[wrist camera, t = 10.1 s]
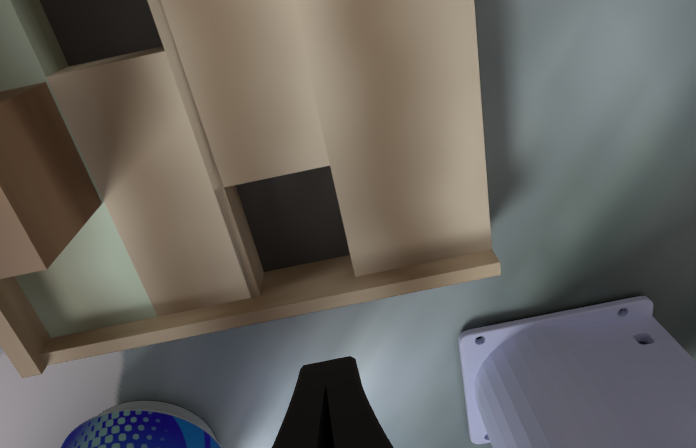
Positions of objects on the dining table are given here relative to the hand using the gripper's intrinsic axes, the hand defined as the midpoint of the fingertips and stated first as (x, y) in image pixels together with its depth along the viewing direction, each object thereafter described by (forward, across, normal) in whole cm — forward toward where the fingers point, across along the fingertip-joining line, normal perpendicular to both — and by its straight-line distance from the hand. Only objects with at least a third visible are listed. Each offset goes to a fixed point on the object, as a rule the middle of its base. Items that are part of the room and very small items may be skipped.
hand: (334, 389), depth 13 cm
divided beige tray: (+10, +3, -6) cm, 12 cm away
